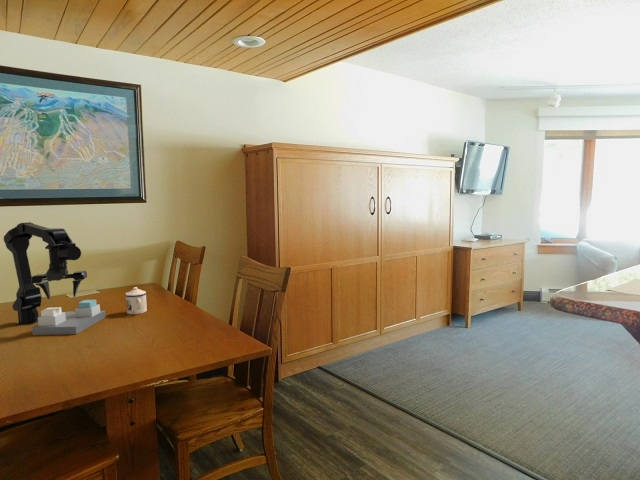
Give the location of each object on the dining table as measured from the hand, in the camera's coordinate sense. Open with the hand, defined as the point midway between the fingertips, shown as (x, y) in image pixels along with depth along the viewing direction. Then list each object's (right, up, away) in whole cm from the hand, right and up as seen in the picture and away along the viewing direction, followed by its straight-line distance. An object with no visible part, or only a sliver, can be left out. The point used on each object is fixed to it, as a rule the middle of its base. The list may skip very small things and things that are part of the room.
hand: (61, 297), depth 170 cm
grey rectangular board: (+1, -12, +5) cm, 13 cm away
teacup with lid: (+21, -10, +23) cm, 33 cm away
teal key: (+5, -6, +10) cm, 13 cm away
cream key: (-3, -7, -2) cm, 8 cm away
